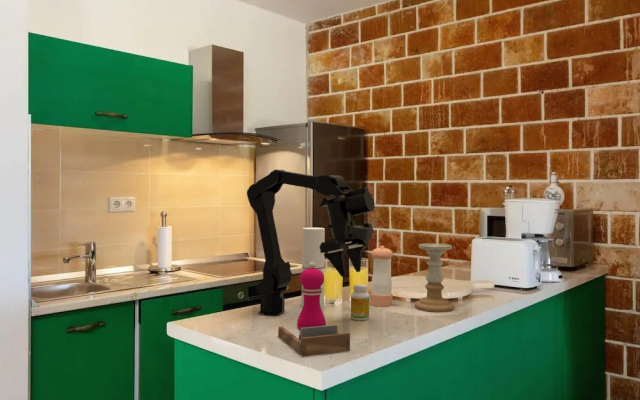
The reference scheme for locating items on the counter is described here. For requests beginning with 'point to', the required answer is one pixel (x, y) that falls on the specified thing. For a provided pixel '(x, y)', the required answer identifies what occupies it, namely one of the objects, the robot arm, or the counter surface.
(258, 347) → the counter surface
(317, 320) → the pepper mill
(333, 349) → the lane
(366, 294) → the supplement bottle
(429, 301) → the candle holder
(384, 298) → the salt shaker
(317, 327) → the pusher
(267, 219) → the robot arm
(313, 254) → the cylindrical container
